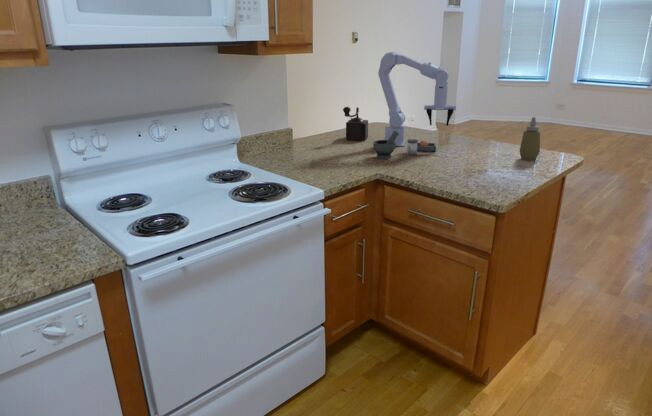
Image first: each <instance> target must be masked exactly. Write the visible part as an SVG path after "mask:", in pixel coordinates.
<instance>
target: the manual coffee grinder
mask: <svg viewBox="0 0 652 416" xmlns="http://www.w3.org/2000/svg"><path fill="white" fill-rule="evenodd" d="M359 109H360V108H359V107H356V110H355V114H352V115H351V114H350V112H351V111H352V110H351V107H349V106H345V107H343V109H342V111H343V113H344V117H345V118H346V117H347V118H350V119H348V121H347V122H346V123H345V141H350V142H366V141H367V139H368V138H369V120H368V119H363V118H361V117H359V111H360V110H359ZM365 140H366V141H365Z"/></svg>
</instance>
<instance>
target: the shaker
mask: <svg viewBox="0 0 652 416" xmlns="http://www.w3.org/2000/svg"><path fill="white" fill-rule="evenodd" d="M417 143H419V140H418V139H415V138H409V139H407V149H406V150H407V151H406V154H407V155H406V156H409V157H416V156H417V155H418V151H417Z"/></svg>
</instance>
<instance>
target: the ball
mask: <svg viewBox="0 0 652 416" xmlns="http://www.w3.org/2000/svg"><path fill="white" fill-rule="evenodd" d="M419 143H420V146H428V143H429V142H428V140H426V139H422V140H420V142H419Z"/></svg>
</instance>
